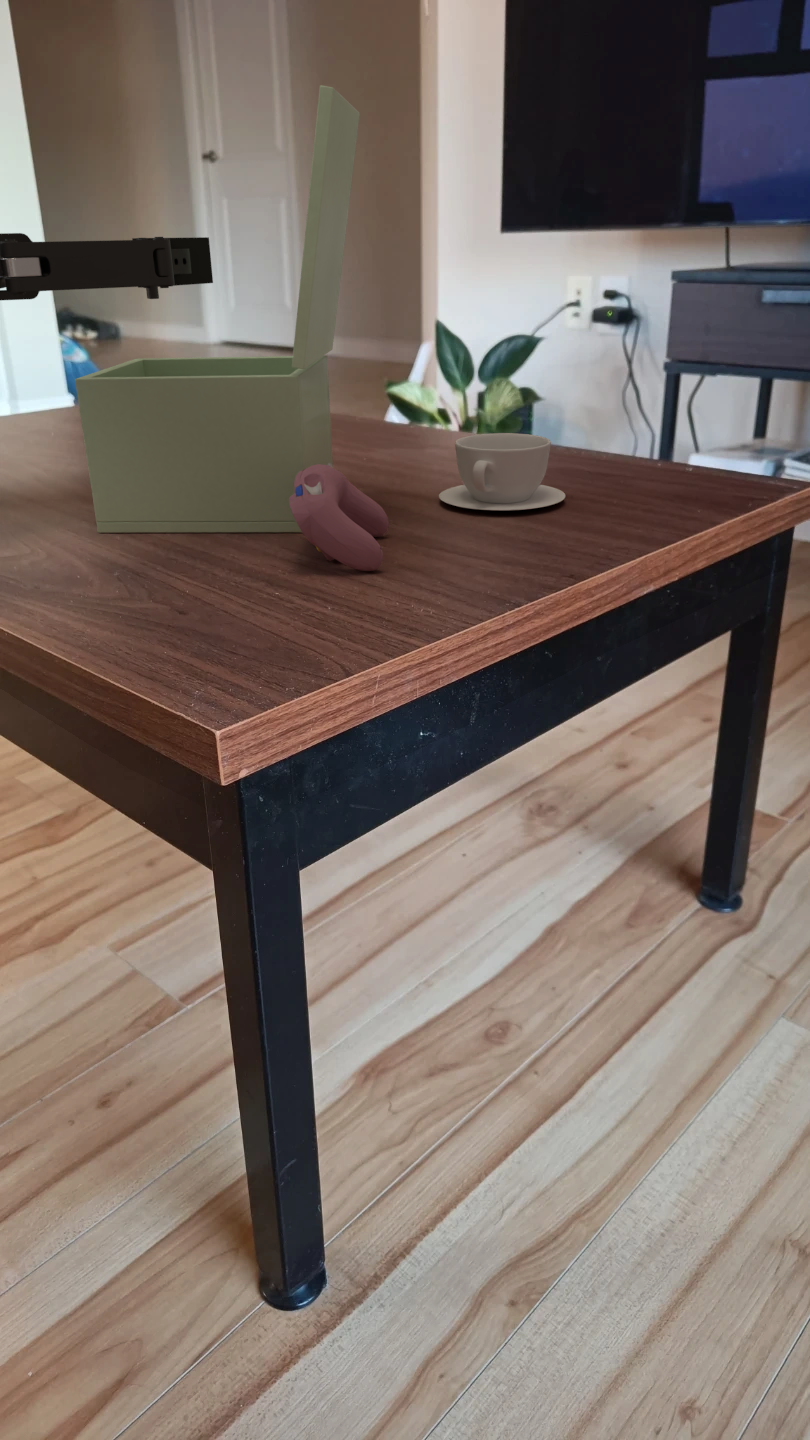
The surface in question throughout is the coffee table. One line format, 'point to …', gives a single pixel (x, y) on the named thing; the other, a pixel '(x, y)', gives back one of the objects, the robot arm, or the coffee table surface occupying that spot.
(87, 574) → the coffee table surface
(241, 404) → the storage chest
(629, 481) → the coffee table surface
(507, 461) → the teacup
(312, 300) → the chest lid
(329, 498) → the video game controller
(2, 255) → the robot arm
